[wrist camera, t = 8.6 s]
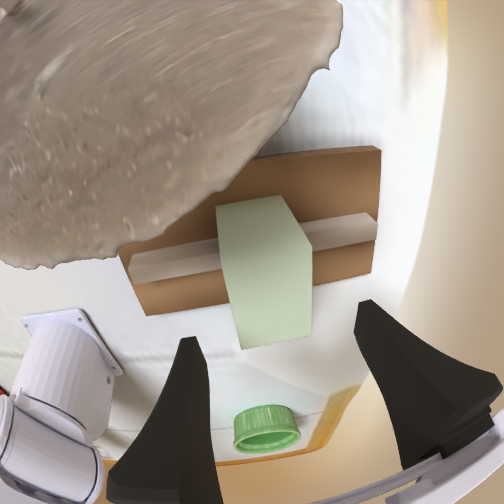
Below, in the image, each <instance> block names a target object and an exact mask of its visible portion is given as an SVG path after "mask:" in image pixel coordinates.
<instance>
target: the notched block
mask: <svg viewBox="0 0 504 504" xmlns="http://www.w3.org/2000/svg"><path fill="white" fill-rule="evenodd" d="M215 208H216V219H217V230H218V240H219V250H220V260H221V266H222V271H223V275H224V279H225V284H226V288H227V292H228V297H229V301H230V305H231V309H232V314H233V318H234V322H235V326H236V330H237V334H238V338H239V342H240V346H241V350H243V349H248V348H254V347H259V346H264V345H269V344H274V343H279V342H283V341H288V340H293V339H297V338H302V337H306V336H310V335H311V325H312V245H311V244H310V242H309V240H308V239H307V237H306V235H305V234H304V232H303V230H302V229H301V227H300V225H299V224H298V222H297V220H296V219H295V217H294V215H293V214H292V212H291V210H290V209H289V207H288V206H287V204H286V202H285V201H284V199H283V198H282V196H281V195H276V196H270V197H264V198H258V199H252V200H246V201H240V202H235V203H229V204H224V205H218V206H215Z"/></svg>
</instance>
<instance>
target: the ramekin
mask: <svg viewBox="0 0 504 504" xmlns="http://www.w3.org/2000/svg"><path fill="white" fill-rule="evenodd" d="M234 436H235V440H234V449H235V450H236V451H238V452H241V453H247V454H260V453H268V452H273V451H277V450H281V449H284V448H287V447H289V446H291V445H293V444H295V443H296V442H297V441H299V439H300V438H301V433H300V431H299V430H298V429H297V426H296V423H295V421H294V418H293V415H292V413H291V411H290V410H289V409H288V408H286V407H284V406H280V405H264V406H258V407H254V408H251V409H248V410H245V411H243V412H241V413H240V414H239V415H237V416H236V418H235V420H234Z"/></svg>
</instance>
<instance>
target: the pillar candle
mask: <svg viewBox="0 0 504 504" xmlns="http://www.w3.org/2000/svg"><path fill="white" fill-rule="evenodd" d="M342 29H343V8H342V4H341V3H338V2H337V1H336V0H0V260H2V261H3V262H4V263H5V264H8V265H11V266H13V267H16V268H24V269H27V270H30V269H36V268H38V267H39V266H40V265H42V266H45V267H47V268H50V269H53V268H54V267H55V266H56V265H57V264H60V263H68V262H72V261H75V260H87V259H92V258H97V259H103V260H104V259H106V258H108V257H110V258H113V257H116V256H117V255H118V254H117V252H118V251H119V249H120V248H121V247H122V246H124V245H129V244H131V243H133V242H145V241H149V240H151V239H153V238H155V237H157V236H160V235H163V234H164V233H165V232H166V230H167V229H168V228H169V227H170V226H171V225H172V224H173V223H175V222H176V221H177V220H179V219H180V218H181V217H183V216H185V215H186V214H188V213H190V212H191V211H193V210H194V209H195V208H196V207H197V206H198V205H199V204H200V203H202V202H203V201H204V200H205V199H207V198H208V197H209V196H210V195H211V194H212V193H214V192H222V191H224V190H225V189H226V188H227V187H228V186H229V185H230V184H231V182H232V180H233V179H234V178H235V177H236V175H238V174H239V172H240V171H241V170H242V169H243V168H244V167H245V166H246V164H247V163H248V162H249V161H250V160H251V159H252V158H253V157H254V156H256V155H257V154H258V153H259V151H260V149H261V148H262V146H263V145H264V144H265V143H266V142H267V141H268V140H269V139H270V138H271V137H272V136H273V135H274V134H275V133H277V131H278V130H279V129H280V128H281V127H282V126H283V125H284V124H285V123H286V122H287V121H288V117H289V116H290V114H291V112H292V111H293V110H294V107H295V105H296V103H297V102H298V100H299V99H300V98H301V96H302V94H303V92H304V90H305V89H306V87H307V84H308V82H309V80H310V77H311V75H312V74H313V73H314V72H315V71H316V70H319V69H322V68H325V69H328V70H330V69H329V59H330V57H331V55H332V53H333V52H334V51H335V50H336V49H337V48H338V47H339V44H340V37H341V31H342Z"/></svg>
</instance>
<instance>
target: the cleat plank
mask: <svg viewBox="0 0 504 504" xmlns="http://www.w3.org/2000/svg"><path fill="white" fill-rule="evenodd" d="M380 175H381V150H380V149H378V148H376V147H374V146H358V147H344V148H332V149H322V150H312V151H303V152H294V153H286V154H278V155H271V156H264V157H257V158H252V159H251V160H250V161H249V162H248V163H247V164H246V166H245V167H244V168H243V169H242V170H241V171H240V172H239V174H238V175H236V177H235V178H234V179H233V180H232V182H231V184H230V185H229V186H228V187H227V188H226V189H225V190H224V191H222V192H214V193H212V194H211V195H210V196H209V197H208V198H207V199H205V200H204V201H203V202H202V203H200V204H199V205H198V206H197V207H196V208H195V209H194V210H193V211H191V212H190V213H188V214H186V215H185V216H183V217H181V218H180V219H179V220H177V221H176V222H175V223H173V224H172V225H171V226H170V227H169V228H168V229H167V230H166V232H165V233H164V234H163V235H160V236H157V237H155V238H153V239H151V240H149V241H145V242H133V243H131V244H129V245H124V246H122V247H121V248H120V249H119V251H118V254H119V257H120V259H121V262H122V264H123V266H124V269H125V271H126V273H127V276H128V278H129V280H130V283H131V285H132V287H133V289H134V291H135V294H136V296H137V298H138V300H139V302H140V304H141V306H142V308H143V310H144V313H145V315H146V316H151V315H158V314H164V313H171V312H177V311H183V310H189V309H195V308H201V307H207V306H213V305H219V304H224V303H230V301H229V297H228V292H227V288H226V284H225V279H224V275H223V271H222V266H221V260H220V250H219V240H218V230H217V219H216V208H215V206H218V205H224V204H229V203H235V202H240V201H246V200H252V199H258V198H264V197H270V196H276V195H281V196H282V198H283V199H284V201H285V202H286V204H287V206H288V207H289V209H290V210H291V212H292V214H293V215H294V217H295V219H296V220H297V222H298V224H299V225H300V227H301V229H302V230H303V232H304V234H305V235H306V237H307V239H308V240H309V242H310V244H311V245H312V286H316V285H320V284H325V283H330V282H334V281H339V280H343V279H347V278H352V277H356V276H360V275H364V274H369V273H371V268H372V261H373V253H374V245H375V239H376V235H377V226H378V223H377V217H378V206H379V192H380Z"/></svg>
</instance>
